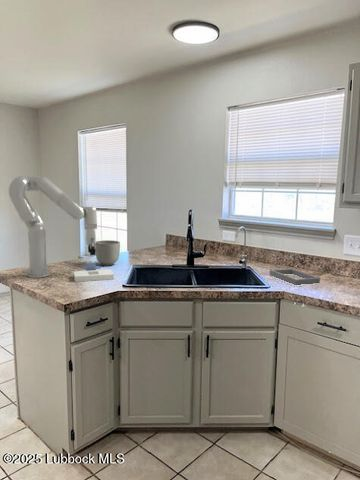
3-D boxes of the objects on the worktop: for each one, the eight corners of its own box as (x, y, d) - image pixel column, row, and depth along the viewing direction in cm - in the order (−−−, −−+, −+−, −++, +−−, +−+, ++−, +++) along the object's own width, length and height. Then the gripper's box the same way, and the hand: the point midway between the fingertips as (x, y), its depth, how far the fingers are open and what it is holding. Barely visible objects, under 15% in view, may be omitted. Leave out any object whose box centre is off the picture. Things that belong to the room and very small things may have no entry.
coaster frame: (295, 286, 210) (296, 280, 209) (269, 275, 235) (269, 269, 234) (319, 284, 216) (320, 278, 215) (291, 274, 240) (291, 268, 240)
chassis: (75, 281, 209) (75, 276, 208) (73, 276, 221) (73, 271, 220) (113, 279, 216) (113, 274, 216) (109, 274, 228) (109, 269, 228)
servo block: (82, 274, 226) (82, 262, 225) (81, 272, 230) (81, 261, 229) (100, 273, 230) (100, 261, 229) (99, 271, 234) (99, 260, 233)
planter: (91, 263, 257) (90, 241, 255) (113, 261, 267) (113, 239, 265) (101, 268, 244) (101, 244, 241) (124, 265, 254) (124, 242, 251)
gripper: (83, 225, 233) (84, 251, 235) (86, 228, 217) (87, 256, 219) (95, 224, 235) (96, 250, 238) (98, 227, 219) (99, 255, 222)
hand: (91, 253), depth 229 cm, fingers open, 9 cm apart
